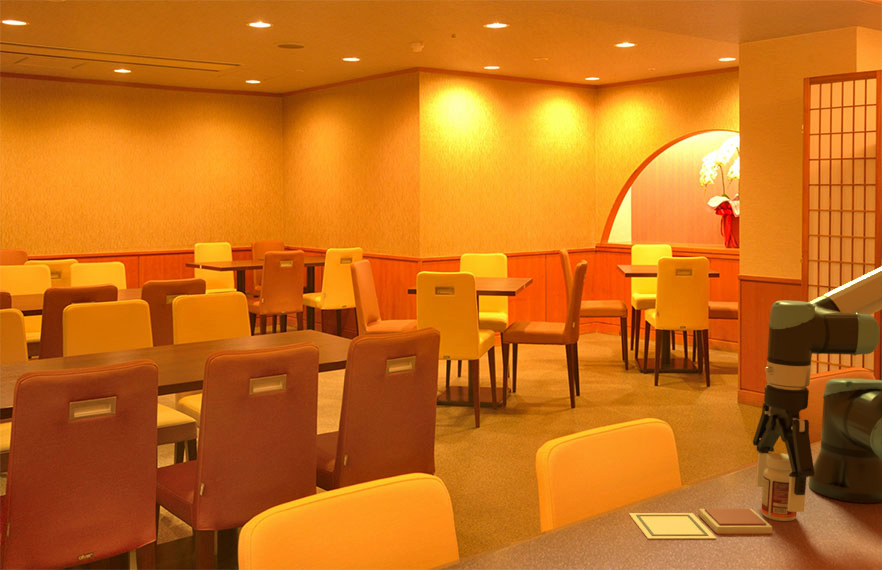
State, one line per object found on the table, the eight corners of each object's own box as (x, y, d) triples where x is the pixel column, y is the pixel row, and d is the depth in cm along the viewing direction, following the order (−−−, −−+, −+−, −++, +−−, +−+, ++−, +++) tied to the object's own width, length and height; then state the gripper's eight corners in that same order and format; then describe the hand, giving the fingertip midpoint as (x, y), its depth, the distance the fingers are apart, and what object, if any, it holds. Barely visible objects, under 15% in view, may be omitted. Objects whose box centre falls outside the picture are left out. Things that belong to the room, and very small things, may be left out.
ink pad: (751, 515, 168) (751, 507, 167) (772, 533, 159) (772, 525, 158) (698, 515, 167) (699, 507, 167) (716, 533, 158) (717, 525, 158)
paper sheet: (692, 514, 167) (692, 512, 167) (716, 539, 155) (716, 537, 155) (628, 514, 166) (628, 512, 166) (648, 539, 155) (648, 537, 154)
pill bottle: (803, 518, 167) (807, 458, 165) (782, 524, 163) (786, 463, 162) (774, 508, 172) (778, 450, 170) (753, 513, 168) (757, 454, 167)
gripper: (740, 371, 177) (733, 476, 179) (798, 401, 152) (789, 522, 154) (777, 372, 177) (769, 476, 180) (841, 401, 153) (831, 522, 155)
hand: (778, 498), depth 167 cm, fingers open, 13 cm apart
